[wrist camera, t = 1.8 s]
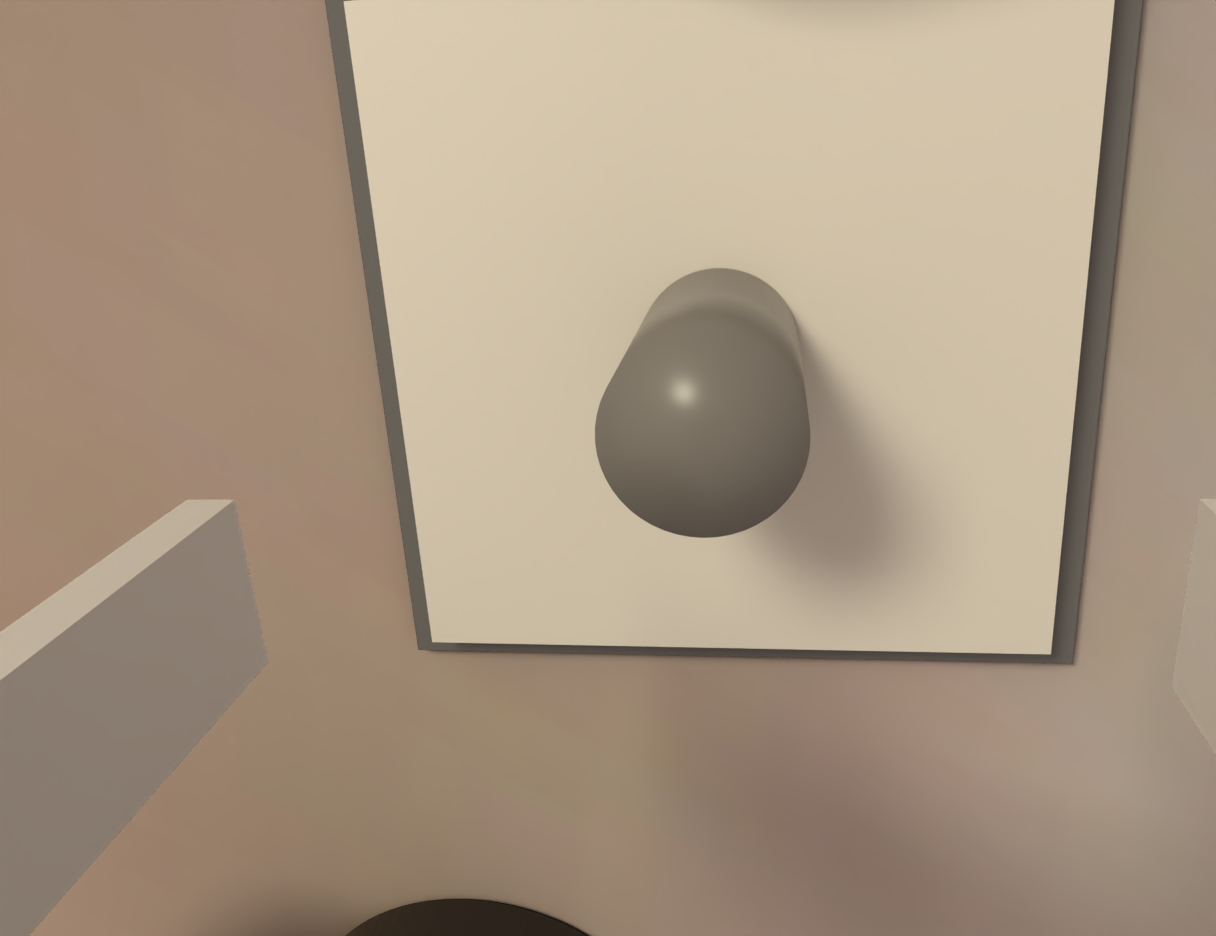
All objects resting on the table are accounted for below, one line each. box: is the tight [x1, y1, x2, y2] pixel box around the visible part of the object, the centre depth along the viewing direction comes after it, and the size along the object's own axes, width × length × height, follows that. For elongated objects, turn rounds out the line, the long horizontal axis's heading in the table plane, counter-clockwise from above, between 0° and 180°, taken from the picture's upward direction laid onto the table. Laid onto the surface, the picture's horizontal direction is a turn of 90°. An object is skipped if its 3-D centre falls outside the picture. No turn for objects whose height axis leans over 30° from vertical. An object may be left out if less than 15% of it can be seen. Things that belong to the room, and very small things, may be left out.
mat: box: [325, 0, 1143, 663], centre depth 29 cm, size 21×21×1 cm
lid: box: [344, 0, 1115, 654], centre depth 25 cm, size 19×19×9 cm
